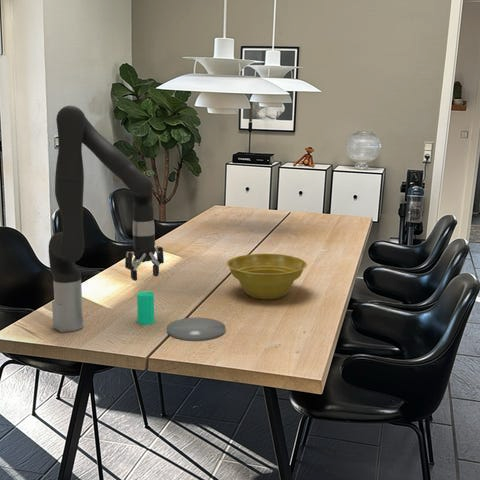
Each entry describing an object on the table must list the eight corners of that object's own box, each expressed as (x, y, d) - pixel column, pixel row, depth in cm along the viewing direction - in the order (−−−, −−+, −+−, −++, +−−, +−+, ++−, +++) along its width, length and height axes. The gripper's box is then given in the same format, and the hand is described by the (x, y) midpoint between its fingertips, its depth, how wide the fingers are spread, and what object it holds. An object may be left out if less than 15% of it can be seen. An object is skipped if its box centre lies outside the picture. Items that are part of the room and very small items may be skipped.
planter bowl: (245, 311, 252) (246, 276, 249) (214, 288, 281) (214, 257, 278) (320, 301, 265) (321, 268, 262) (283, 280, 293) (283, 250, 290)
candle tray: (189, 345, 217) (189, 341, 217) (155, 328, 232) (155, 325, 232) (237, 332, 229) (237, 328, 229) (202, 317, 244) (202, 313, 244)
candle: (146, 318, 243) (145, 286, 240) (158, 321, 239) (157, 289, 236) (133, 322, 238) (133, 289, 236) (145, 325, 234) (144, 292, 232)
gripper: (131, 237, 225) (133, 284, 228) (167, 231, 233) (168, 276, 237) (120, 234, 230) (122, 279, 234) (155, 228, 239) (156, 272, 243)
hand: (145, 278), depth 235 cm, fingers open, 8 cm apart
